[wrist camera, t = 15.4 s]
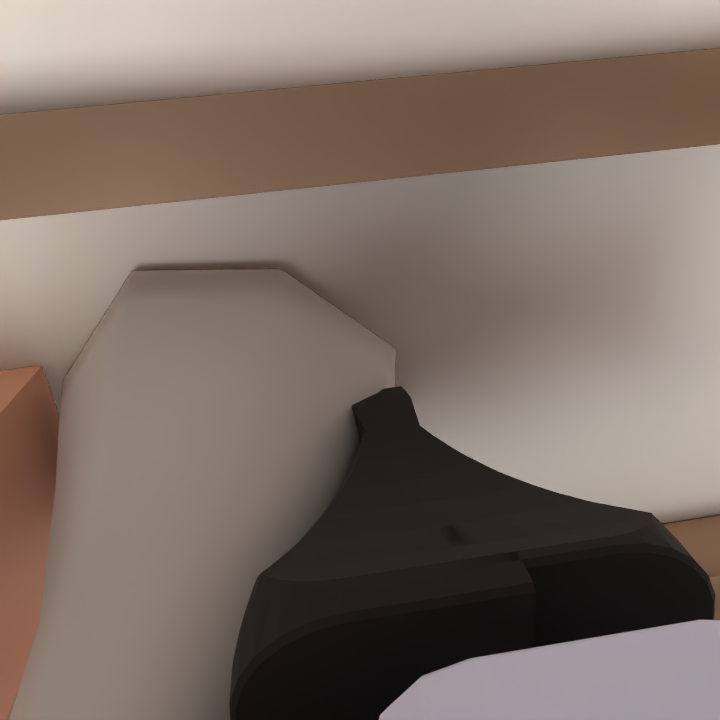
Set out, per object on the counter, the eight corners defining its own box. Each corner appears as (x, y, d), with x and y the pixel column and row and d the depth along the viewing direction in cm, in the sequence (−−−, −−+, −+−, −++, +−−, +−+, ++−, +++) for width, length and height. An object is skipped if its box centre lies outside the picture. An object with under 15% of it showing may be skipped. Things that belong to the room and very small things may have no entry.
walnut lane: (907, 526, 18) (979, 575, 16) (-107, 691, 16) (-159, 771, 14) (1082, 15, 12) (1221, 1, 11) (-413, 154, 10) (-561, 166, 8)
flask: (343, 578, 15) (364, 1293, 6) (45, 510, 14) (-479, 1271, 5) (449, 317, 13) (762, 877, 4) (96, 208, 12) (-805, 625, 2)
